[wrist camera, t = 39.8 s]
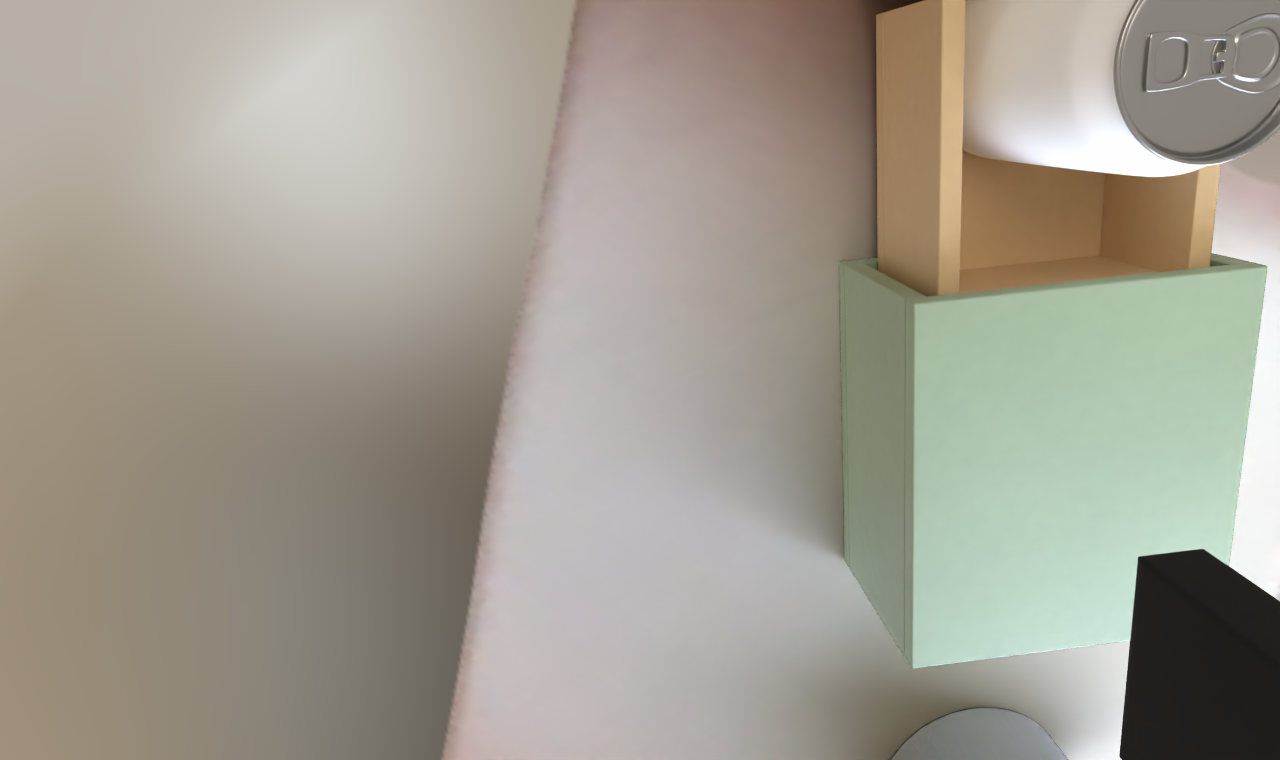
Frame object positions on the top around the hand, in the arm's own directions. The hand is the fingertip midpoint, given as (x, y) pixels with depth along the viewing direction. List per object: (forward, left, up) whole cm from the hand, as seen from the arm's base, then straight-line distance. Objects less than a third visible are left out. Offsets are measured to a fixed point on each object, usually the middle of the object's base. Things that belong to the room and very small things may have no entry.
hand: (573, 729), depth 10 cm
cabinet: (+8, +18, -29) cm, 35 cm away
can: (-6, +18, -27) cm, 33 cm away
